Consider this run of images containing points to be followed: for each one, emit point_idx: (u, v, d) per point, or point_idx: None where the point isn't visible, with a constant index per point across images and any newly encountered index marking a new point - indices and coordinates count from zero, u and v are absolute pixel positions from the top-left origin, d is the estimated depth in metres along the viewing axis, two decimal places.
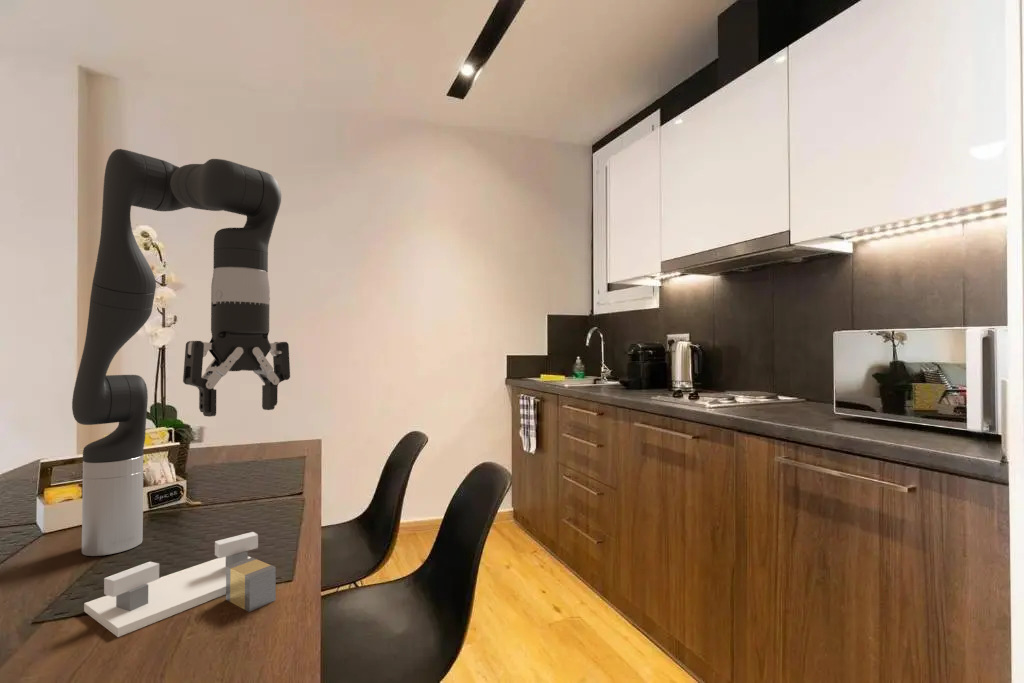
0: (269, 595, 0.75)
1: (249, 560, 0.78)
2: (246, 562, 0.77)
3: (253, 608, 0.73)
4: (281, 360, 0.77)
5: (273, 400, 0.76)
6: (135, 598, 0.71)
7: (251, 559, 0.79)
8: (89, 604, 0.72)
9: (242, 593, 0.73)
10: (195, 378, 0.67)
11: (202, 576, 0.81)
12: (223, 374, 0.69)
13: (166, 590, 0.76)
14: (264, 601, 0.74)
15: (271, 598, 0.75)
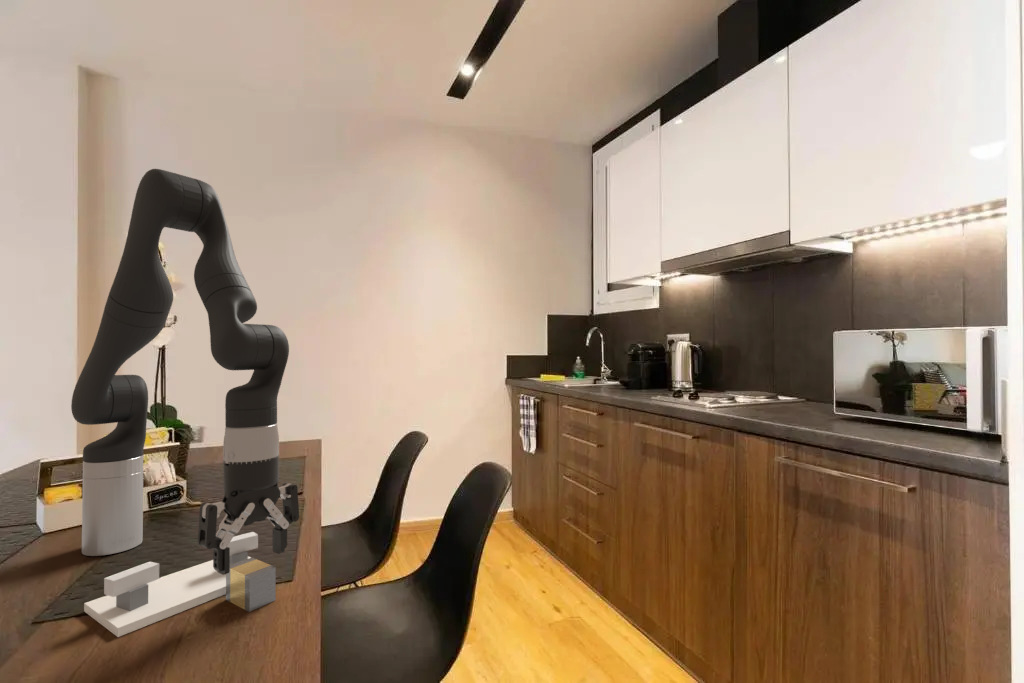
0: (269, 595, 0.75)
1: (249, 560, 0.78)
2: (246, 562, 0.77)
3: (253, 608, 0.73)
4: (290, 503, 0.80)
5: (283, 544, 0.79)
6: (135, 598, 0.71)
7: (251, 559, 0.78)
8: (89, 604, 0.72)
9: (242, 593, 0.73)
10: (209, 542, 0.70)
11: (202, 576, 0.81)
12: (236, 532, 0.72)
13: (166, 590, 0.76)
14: (264, 601, 0.74)
15: (271, 598, 0.75)
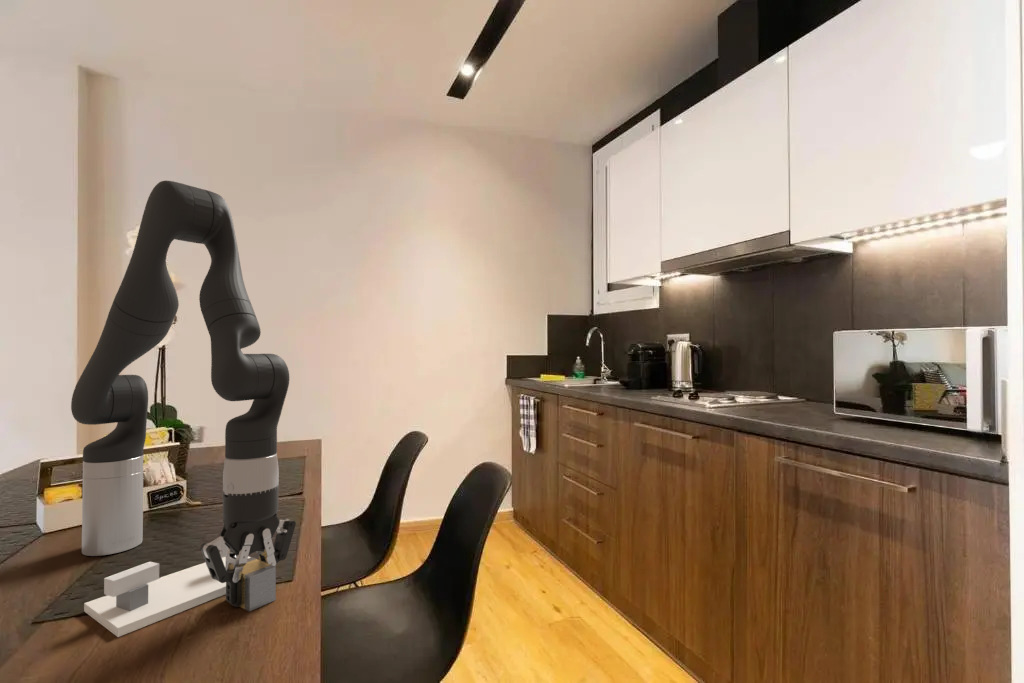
0: (269, 595, 0.75)
1: (249, 560, 0.78)
2: None
3: (253, 608, 0.73)
4: (284, 539, 0.79)
5: None
6: (135, 598, 0.71)
7: (251, 559, 0.79)
8: (89, 604, 0.72)
9: (242, 593, 0.73)
10: (222, 577, 0.71)
11: (202, 576, 0.81)
12: (244, 564, 0.73)
13: (166, 590, 0.76)
14: (264, 601, 0.74)
15: (271, 598, 0.75)
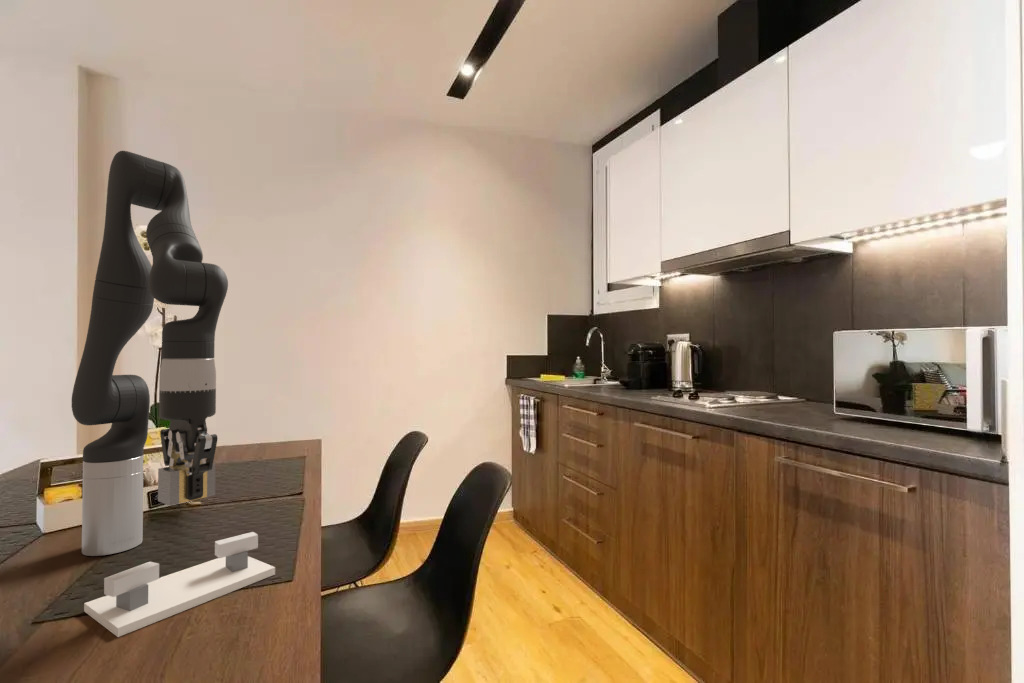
0: (166, 497, 0.75)
1: None
2: None
3: (159, 500, 0.77)
4: None
5: (187, 491, 0.76)
6: (135, 598, 0.71)
7: None
8: (89, 604, 0.72)
9: None
10: (165, 460, 0.80)
11: (202, 576, 0.81)
12: (170, 457, 0.78)
13: (166, 590, 0.76)
14: (164, 499, 0.76)
15: (167, 501, 0.75)
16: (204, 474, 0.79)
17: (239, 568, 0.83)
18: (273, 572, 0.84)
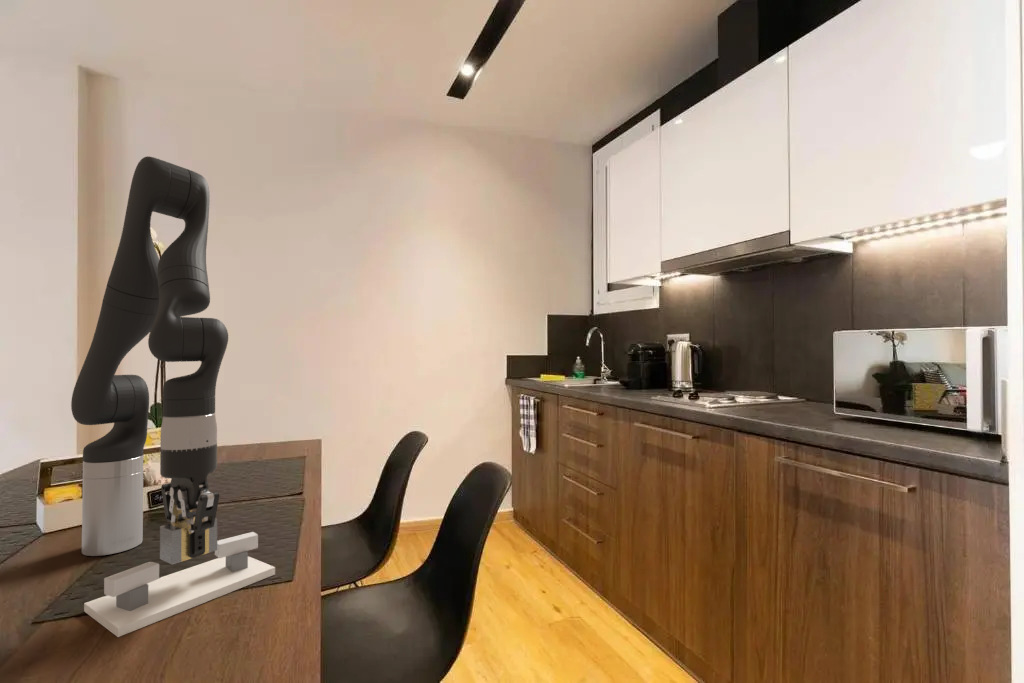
0: (168, 555, 0.75)
1: None
2: None
3: (161, 558, 0.77)
4: None
5: (189, 549, 0.76)
6: (135, 598, 0.71)
7: None
8: (89, 604, 0.72)
9: None
10: (166, 516, 0.80)
11: (202, 576, 0.81)
12: (172, 514, 0.78)
13: (166, 590, 0.76)
14: (166, 558, 0.76)
15: (170, 560, 0.75)
16: (206, 530, 0.79)
17: (239, 568, 0.83)
18: (273, 572, 0.84)
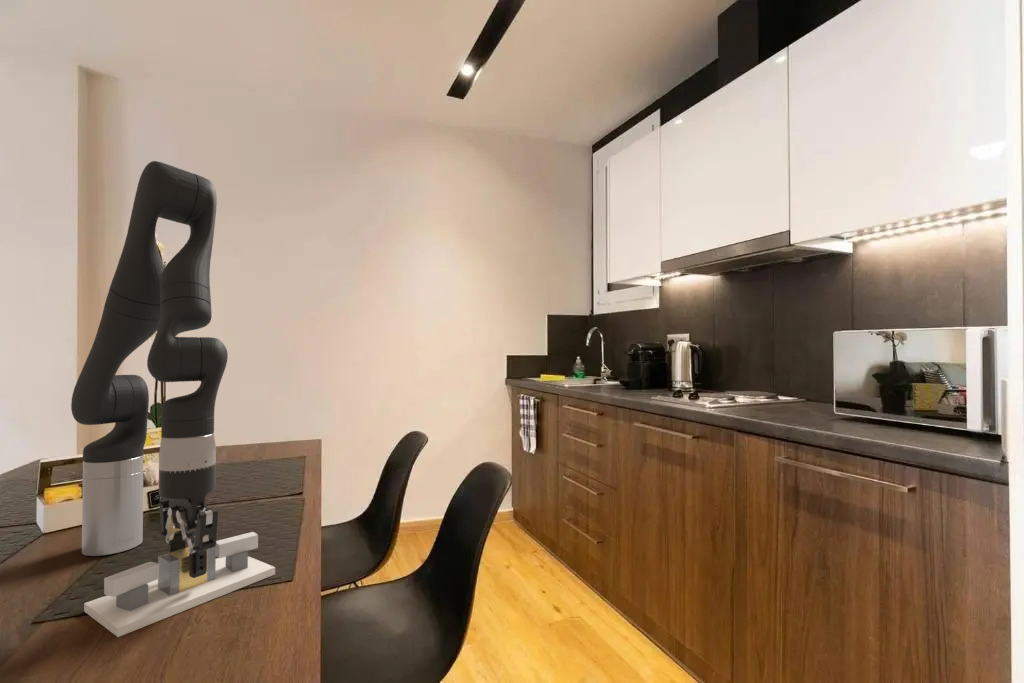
0: (166, 586, 0.75)
1: None
2: None
3: (159, 588, 0.76)
4: None
5: (190, 569, 0.76)
6: (135, 598, 0.71)
7: None
8: (89, 604, 0.72)
9: None
10: (161, 531, 0.81)
11: None
12: (168, 532, 0.79)
13: None
14: (164, 588, 0.76)
15: (167, 591, 0.75)
16: None
17: (239, 568, 0.83)
18: (273, 572, 0.84)
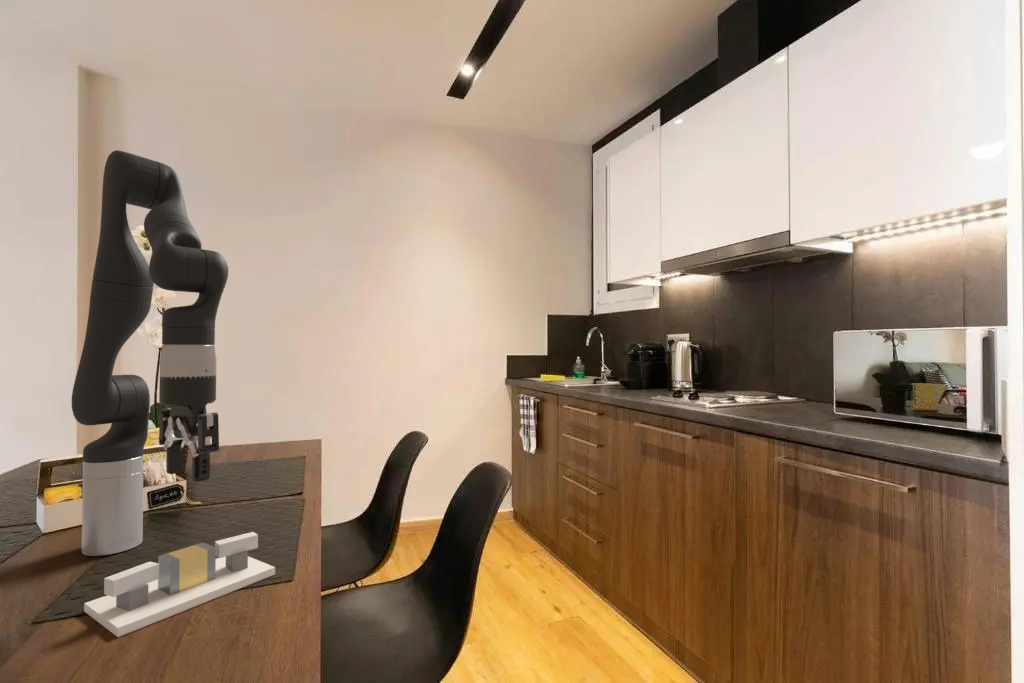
0: (166, 586, 0.75)
1: (207, 548, 0.80)
2: (203, 547, 0.80)
3: (159, 588, 0.76)
4: None
5: (193, 472, 0.75)
6: (135, 598, 0.71)
7: (209, 548, 0.80)
8: (89, 604, 0.72)
9: None
10: (160, 439, 0.81)
11: None
12: (166, 439, 0.79)
13: None
14: (164, 588, 0.76)
15: (167, 591, 0.75)
16: (204, 559, 0.79)
17: (239, 568, 0.83)
18: (273, 572, 0.84)
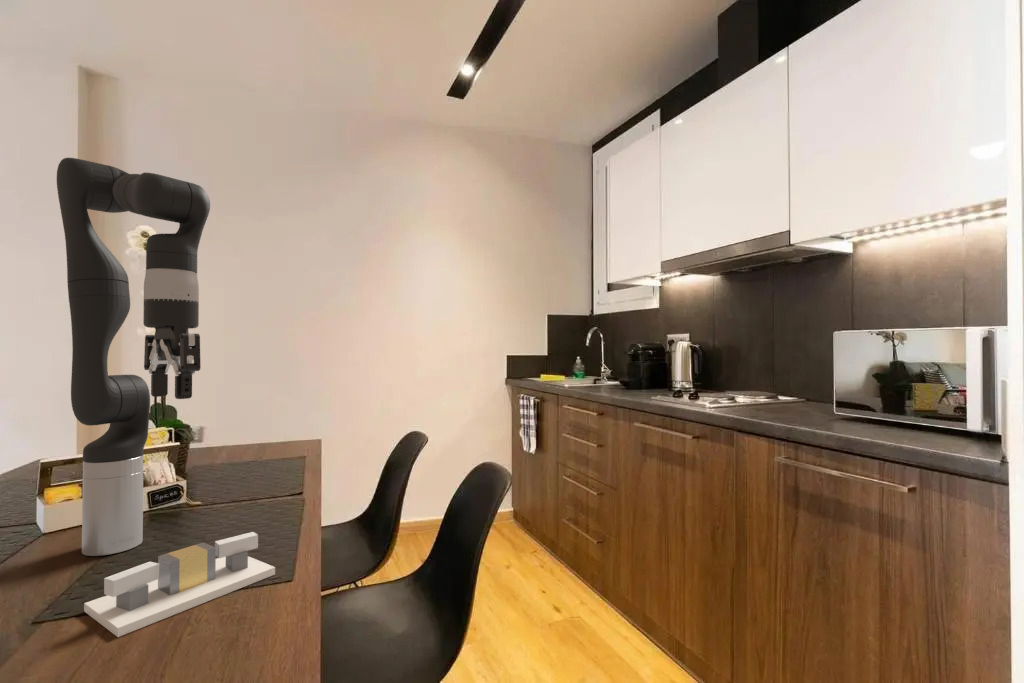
0: (166, 586, 0.75)
1: (207, 548, 0.80)
2: (203, 547, 0.80)
3: (159, 588, 0.76)
4: None
5: (176, 390, 0.79)
6: (135, 598, 0.71)
7: (209, 548, 0.80)
8: (89, 604, 0.72)
9: None
10: (145, 364, 0.85)
11: None
12: (151, 362, 0.83)
13: None
14: (164, 588, 0.76)
15: (167, 591, 0.75)
16: (204, 559, 0.79)
17: (239, 568, 0.83)
18: (273, 572, 0.84)
